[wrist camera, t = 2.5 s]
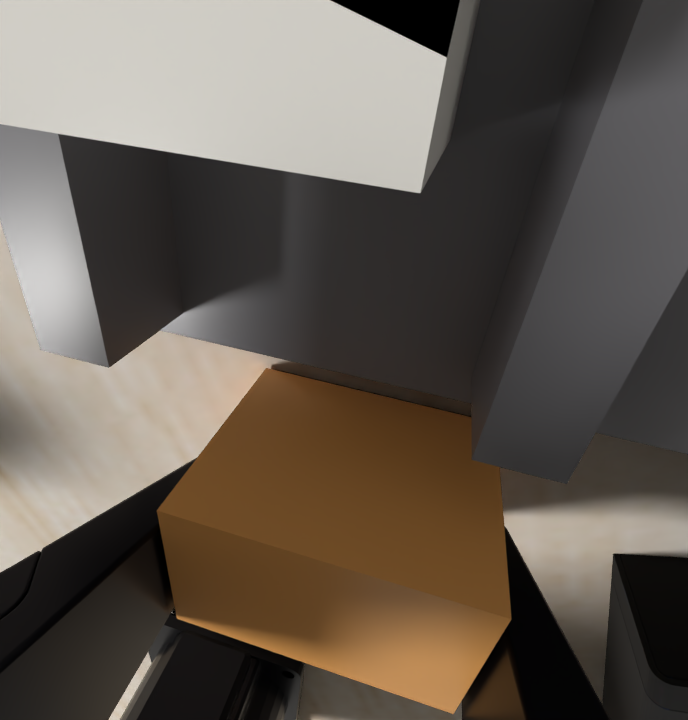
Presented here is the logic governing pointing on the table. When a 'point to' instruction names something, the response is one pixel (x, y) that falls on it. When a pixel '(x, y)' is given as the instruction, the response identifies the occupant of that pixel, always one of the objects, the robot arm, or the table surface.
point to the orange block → (344, 537)
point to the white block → (237, 83)
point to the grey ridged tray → (414, 238)
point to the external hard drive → (647, 639)
